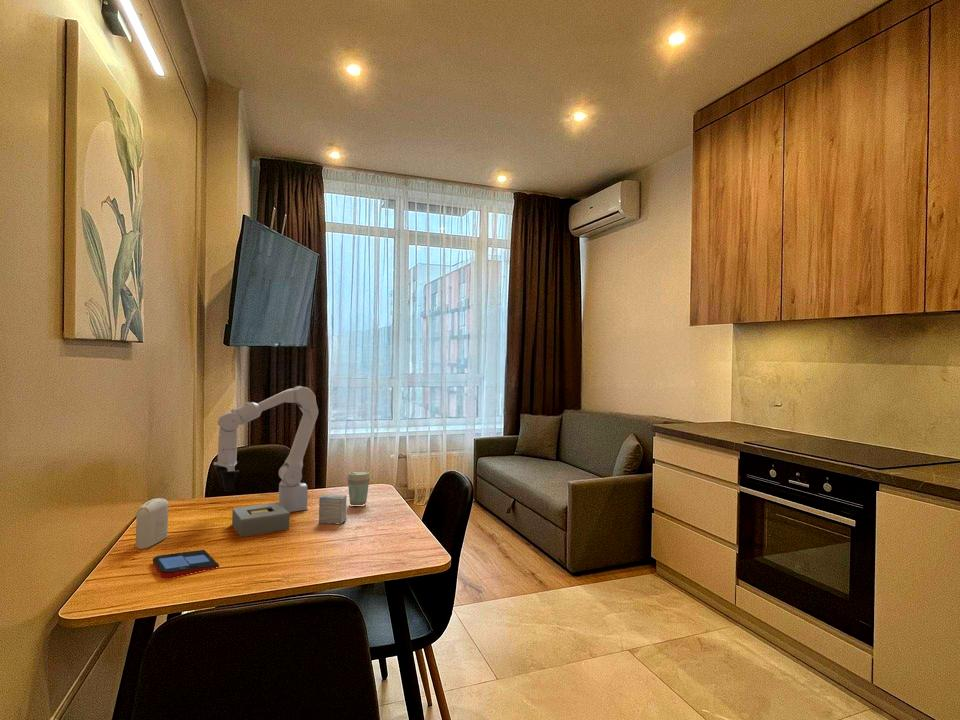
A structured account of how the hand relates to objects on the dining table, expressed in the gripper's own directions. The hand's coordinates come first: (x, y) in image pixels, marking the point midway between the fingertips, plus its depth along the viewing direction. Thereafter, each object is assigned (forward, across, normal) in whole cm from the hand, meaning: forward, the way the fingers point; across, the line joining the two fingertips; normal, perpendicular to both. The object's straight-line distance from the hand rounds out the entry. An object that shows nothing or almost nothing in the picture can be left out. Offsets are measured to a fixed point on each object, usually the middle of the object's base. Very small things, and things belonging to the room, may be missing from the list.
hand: (226, 489), depth 171 cm
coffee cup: (+10, +9, +43) cm, 45 cm away
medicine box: (+10, +24, +28) cm, 38 cm away
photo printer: (+10, +15, -22) cm, 28 cm away
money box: (+9, +16, +7) cm, 20 cm away
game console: (+10, +38, -16) cm, 43 cm away
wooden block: (+10, +16, +7) cm, 20 cm away
